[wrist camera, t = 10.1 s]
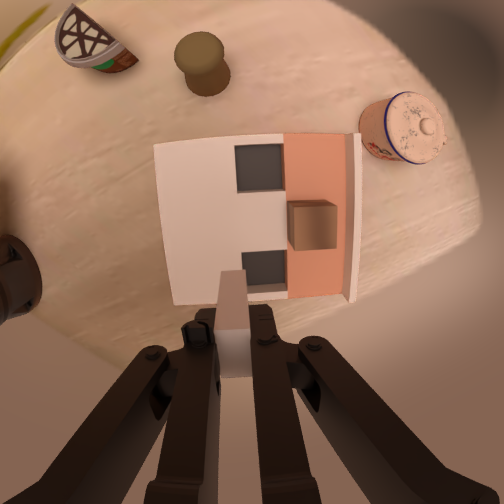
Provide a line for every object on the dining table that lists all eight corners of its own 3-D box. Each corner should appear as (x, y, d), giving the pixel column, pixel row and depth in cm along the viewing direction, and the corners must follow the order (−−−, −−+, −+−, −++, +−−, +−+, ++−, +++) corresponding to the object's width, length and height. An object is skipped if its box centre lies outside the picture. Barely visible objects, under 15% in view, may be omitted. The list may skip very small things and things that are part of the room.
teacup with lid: (354, 155, 37) (395, 157, 26) (358, 95, 35) (398, 77, 24) (421, 169, 38) (470, 177, 27) (425, 113, 35) (473, 108, 24)
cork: (235, 90, 34) (233, 66, 24) (190, 101, 34) (172, 82, 24) (225, 52, 32) (221, 17, 22) (181, 63, 32) (162, 33, 22)
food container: (72, 54, 30) (37, 37, 20) (100, 25, 29) (70, 1, 19) (114, 97, 33) (80, 83, 24) (145, 65, 32) (119, 42, 22)
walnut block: (287, 239, 38) (294, 251, 33) (286, 200, 36) (294, 207, 31) (324, 237, 38) (336, 248, 33) (325, 199, 36) (337, 205, 31)
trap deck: (177, 295, 43) (169, 316, 37) (159, 145, 36) (146, 143, 30) (341, 284, 43) (355, 302, 38) (343, 136, 36) (361, 133, 31)
